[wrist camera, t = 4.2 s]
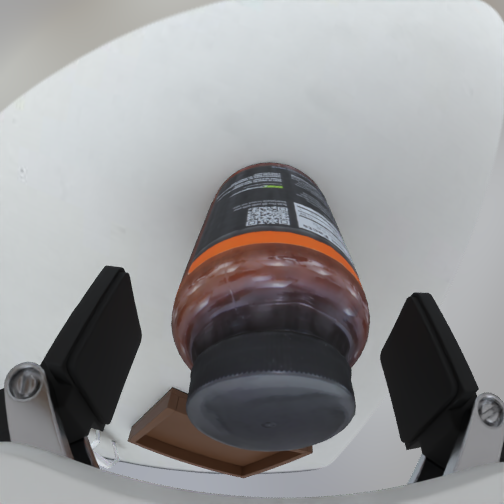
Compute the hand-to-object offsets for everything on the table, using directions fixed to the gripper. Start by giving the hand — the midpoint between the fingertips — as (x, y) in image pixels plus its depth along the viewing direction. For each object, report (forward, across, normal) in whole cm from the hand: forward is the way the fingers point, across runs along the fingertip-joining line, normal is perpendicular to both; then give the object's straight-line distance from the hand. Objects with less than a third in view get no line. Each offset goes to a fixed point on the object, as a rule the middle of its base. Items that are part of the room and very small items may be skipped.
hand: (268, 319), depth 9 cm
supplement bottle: (+8, 0, 0) cm, 8 cm away
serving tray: (+8, +3, +27) cm, 28 cm away
